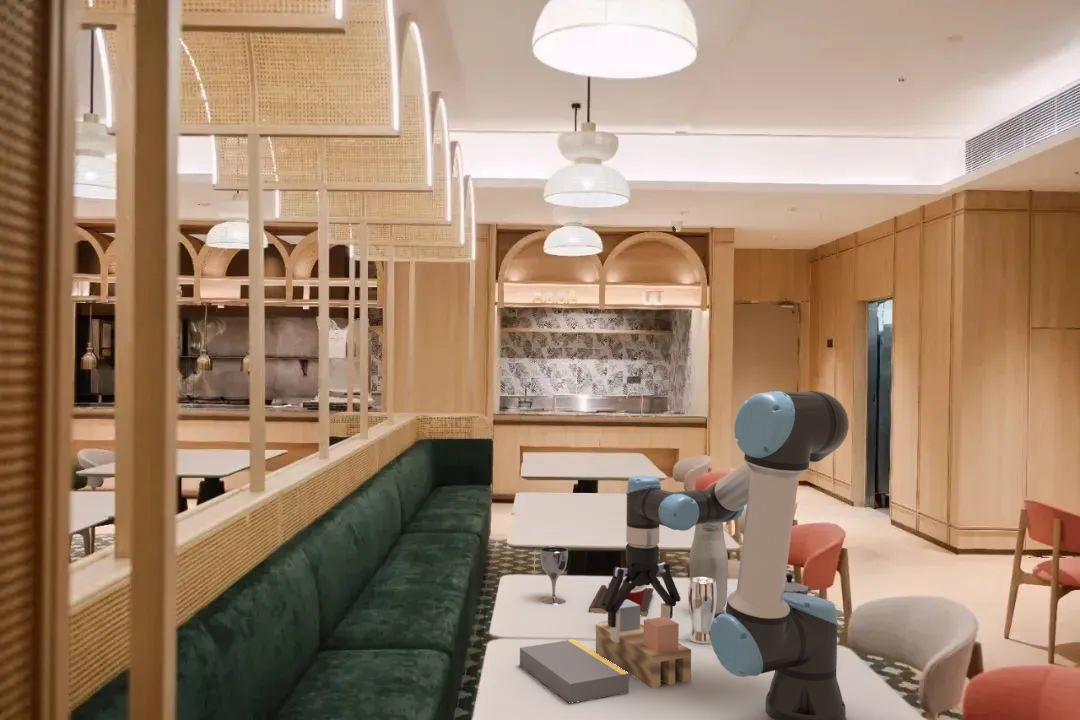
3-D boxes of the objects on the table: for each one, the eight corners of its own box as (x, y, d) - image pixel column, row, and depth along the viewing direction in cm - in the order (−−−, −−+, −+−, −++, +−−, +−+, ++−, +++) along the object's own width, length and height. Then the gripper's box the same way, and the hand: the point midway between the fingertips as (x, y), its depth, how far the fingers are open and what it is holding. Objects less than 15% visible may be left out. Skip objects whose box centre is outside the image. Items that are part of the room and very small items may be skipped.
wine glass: (535, 598, 249) (535, 547, 249) (559, 595, 252) (560, 545, 252) (547, 606, 242) (547, 553, 242) (572, 603, 245) (572, 550, 245)
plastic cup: (598, 632, 219) (598, 585, 219) (614, 620, 229) (615, 575, 229) (637, 638, 214) (638, 590, 214) (652, 627, 224) (653, 581, 224)
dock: (632, 691, 180) (632, 672, 180) (570, 703, 173) (570, 683, 173) (577, 655, 201) (577, 638, 201) (519, 665, 195) (519, 647, 195)
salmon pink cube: (678, 648, 187) (678, 623, 187) (657, 652, 185) (657, 626, 185) (663, 641, 192) (664, 616, 192) (643, 644, 189) (643, 619, 189)
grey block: (640, 628, 201) (640, 605, 201) (620, 631, 198) (620, 608, 198) (627, 622, 206) (627, 599, 206) (607, 625, 203) (608, 602, 203)
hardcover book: (653, 596, 255) (653, 588, 255) (646, 618, 233) (646, 610, 233) (600, 592, 259) (600, 584, 259) (588, 614, 236) (588, 606, 236)
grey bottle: (683, 610, 239) (684, 510, 239) (715, 607, 242) (716, 508, 242) (700, 620, 230) (701, 516, 229) (733, 617, 233) (734, 514, 233)
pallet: (690, 681, 187) (691, 649, 187) (652, 689, 182) (652, 656, 182) (631, 647, 208) (631, 619, 208) (595, 653, 204) (596, 624, 204)
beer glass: (716, 645, 210) (716, 584, 210) (687, 643, 211) (688, 582, 211) (716, 636, 217) (716, 577, 217) (688, 634, 218) (689, 575, 218)
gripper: (677, 536, 204) (675, 624, 204) (586, 545, 193) (584, 638, 193) (696, 543, 197) (694, 634, 198) (603, 552, 186) (601, 649, 187)
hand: (640, 636), depth 195 cm, fingers open, 13 cm apart
